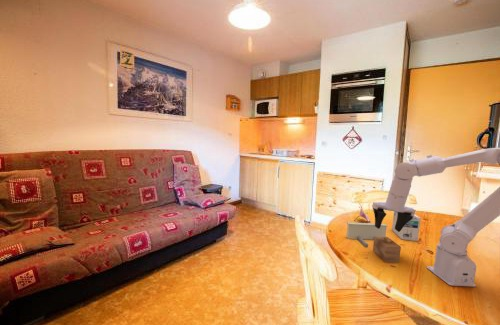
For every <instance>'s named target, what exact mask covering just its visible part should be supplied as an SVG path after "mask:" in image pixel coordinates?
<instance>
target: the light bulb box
mask: <svg viewBox="0 0 500 325" xmlns="http://www.w3.org/2000/svg"><path fill="white" fill-rule="evenodd" d="M397 216H398V212H395V211H393V217H392V218H393V219H392V226H391V231H392V232H394V234H395V235H396V236H398V238H400V240H403V241H405V240H406V241H414V242H419V233H420V227H421V226H420V225H421V221H422V220H421V219H422V218H421V217H420V216H418V215H416V214H414V215H412V216H413V219H412V220H410V221H409V222H407V223H406V224H405V225H404V227H403V228H402V229H401V231H400V232H398V231H397V230H396V229H395V225H396V221H397Z"/></svg>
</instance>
